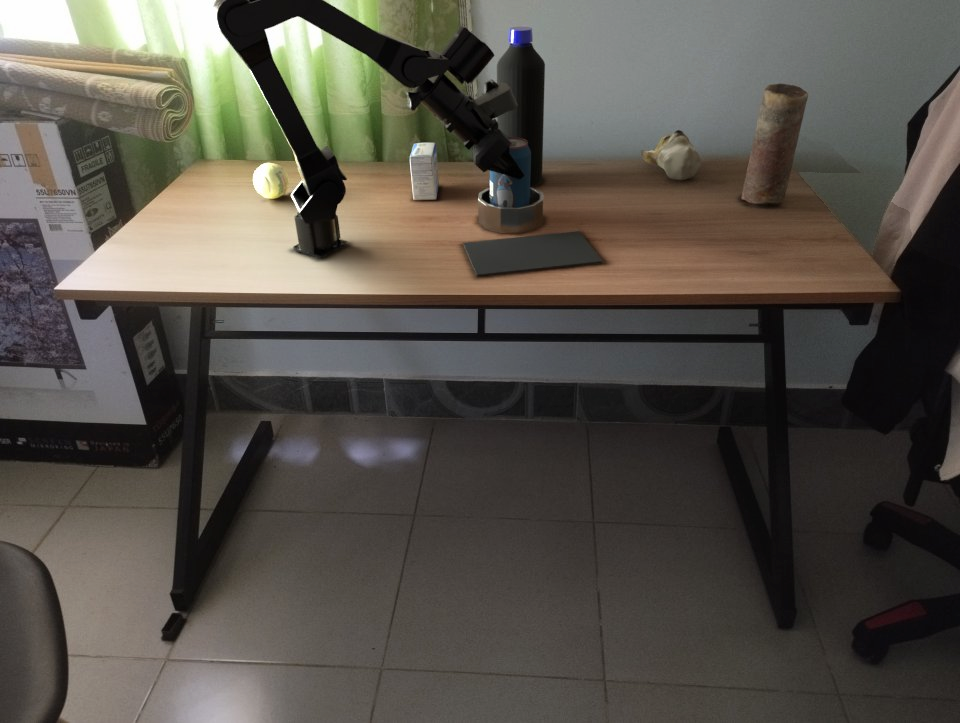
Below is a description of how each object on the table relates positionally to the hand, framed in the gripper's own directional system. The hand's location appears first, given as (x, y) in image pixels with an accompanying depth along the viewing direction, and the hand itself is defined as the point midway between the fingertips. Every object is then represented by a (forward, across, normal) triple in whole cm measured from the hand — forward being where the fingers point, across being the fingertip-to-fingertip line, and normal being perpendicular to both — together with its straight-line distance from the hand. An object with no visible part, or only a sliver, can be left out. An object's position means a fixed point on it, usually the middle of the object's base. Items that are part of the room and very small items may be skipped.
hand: (518, 170), depth 126 cm
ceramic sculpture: (+31, +18, -19) cm, 41 cm away
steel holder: (+6, 0, +7) cm, 9 cm away
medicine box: (-4, +17, +17) cm, 24 cm away
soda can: (+4, 0, +6) cm, 7 cm away
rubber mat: (+6, -14, +7) cm, 17 cm away
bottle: (+10, +19, +3) cm, 22 cm away
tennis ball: (-24, +20, +38) cm, 49 cm away
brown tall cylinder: (+38, -1, -26) cm, 46 cm away
